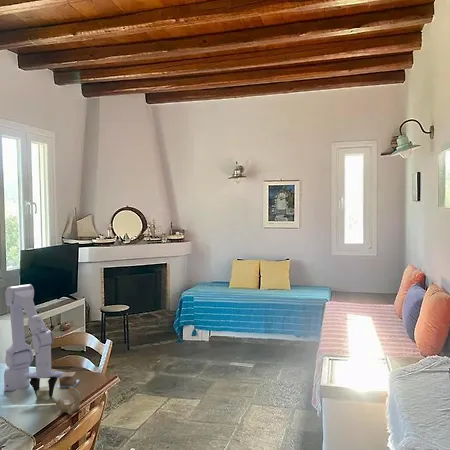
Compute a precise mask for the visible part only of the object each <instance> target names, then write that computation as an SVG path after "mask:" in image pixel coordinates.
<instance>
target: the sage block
mask: <svg viewBox="0 0 450 450" xmlns="http://www.w3.org/2000/svg"><path fill="white" fill-rule="evenodd" d="M39 387H40V388H39V389H38V390H37V398H36V402H38V401H49V400H50V399H51V398H52V397H49V385H47V386H39Z"/></svg>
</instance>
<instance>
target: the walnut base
mask: <svg viewBox="0 0 450 450" xmlns="http://www.w3.org/2000/svg"><path fill="white" fill-rule="evenodd" d="M62 372H63V377H62V378H59V379H58V380H59V383H60V386H73V385H74V383H75V382H76V380H77V372H76V371H67V372H66V371H62Z"/></svg>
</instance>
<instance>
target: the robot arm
mask: <svg viewBox="0 0 450 450" xmlns="http://www.w3.org/2000/svg"><path fill="white" fill-rule="evenodd" d="M4 295H5V305H6V306H7V307H9V312H10V313H9V314H10V327H11V341H12V342H11V343H12V344H11V345H10V346H9V347H8V348H7V349H6V351H5V360H4V361H5V365H6V368H5V370H4V372H3V373H4V374H3V383H4V385H3V386H4V389H3V391H4V392H7V391H9V392H11V391H12V392H13V391H17V390H19V389H20V390H21V389H25V388H28V387H30V385H31V387H32V390H33V391H34V394H35V397H36V399H37V390H38V389H39V388H40V387H41V385H40V382H41V379H48V380H47V384H48V386H49V397H51V398H52V397H53V395H54V390H55V387H56V384H57V381H58V380H59V379H58V378H62V377H63V372H64V371H58V370H57V371H55V370H52V346H51V345H53V344H54V334H53V332H52V330H50V329H49V328H48V327H47V326H46V324H45V321H44V319H43V316H41V315H38V311H37V309H36V308H37V307H36V305H35V302H34V297H35V288H34V286H33V285H32V284H31V283H29V284H21V285H14V286H7V288H6V290H5V292H4ZM24 313H25V314H26V316H27V318H28V320H27V326H28V328H29V330H30V333H31V335H32V336H31V337H32V339H31V343H32V346H33V349H32V346H31V345H29V344H28V343H26V334H25V323H24ZM33 352H34V353H35V371H34V372H30V366H31V363H33V361H34V353H33Z"/></svg>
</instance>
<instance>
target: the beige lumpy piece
mask: <svg viewBox="0 0 450 450" xmlns="http://www.w3.org/2000/svg"><path fill="white" fill-rule="evenodd" d="M67 392H68V394H69V395H70V396H73V398H74V401H75V403H74V402H73V401H72V400H69V399H63V400H62V398H59V399H58V400H57V401H56V406H57V407H58V409H59V410H60V411H61V413H67V414H68V415H72V414H73V412H76V411H78V410H80V406H81V405H80V404H81V399H82V398H81V397H82V393H81V392H80V391H79V390H78V388H75V387H68V389H67ZM72 405H73V406H72ZM71 406H72V407H71Z"/></svg>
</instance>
